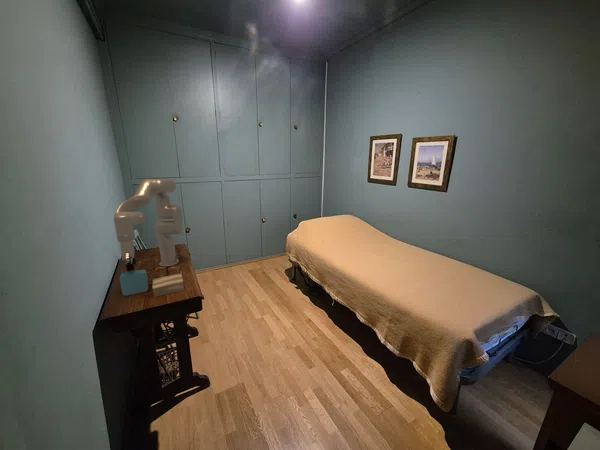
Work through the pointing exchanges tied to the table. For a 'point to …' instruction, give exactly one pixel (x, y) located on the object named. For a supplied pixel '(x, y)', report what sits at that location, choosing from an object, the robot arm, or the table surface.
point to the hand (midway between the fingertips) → (131, 267)
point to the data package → (134, 282)
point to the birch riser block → (167, 284)
